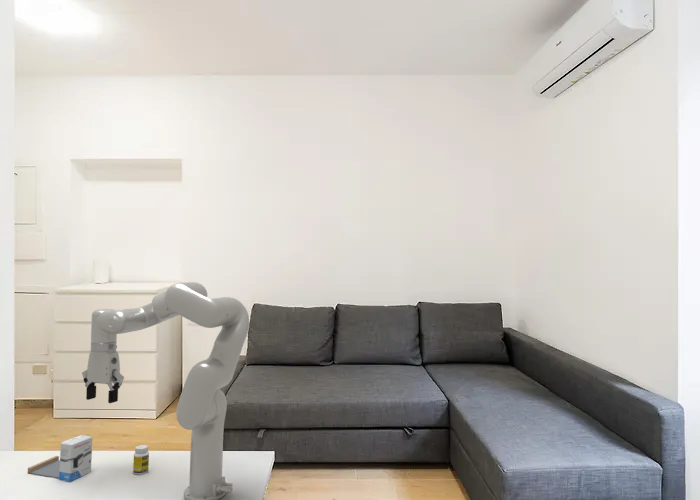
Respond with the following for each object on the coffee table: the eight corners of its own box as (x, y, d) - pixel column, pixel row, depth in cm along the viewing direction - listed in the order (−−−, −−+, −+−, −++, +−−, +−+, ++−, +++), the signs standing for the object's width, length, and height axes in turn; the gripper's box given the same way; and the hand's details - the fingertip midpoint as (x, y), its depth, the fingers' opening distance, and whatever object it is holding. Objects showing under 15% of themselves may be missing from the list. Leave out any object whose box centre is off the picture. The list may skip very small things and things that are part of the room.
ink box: (69, 482, 156) (71, 444, 157) (58, 479, 158) (59, 442, 158) (92, 472, 164) (93, 436, 165) (80, 469, 166) (82, 434, 166)
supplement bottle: (142, 475, 162) (143, 449, 162) (129, 474, 163) (130, 448, 163) (151, 470, 166) (152, 444, 167) (138, 468, 167) (139, 443, 168)
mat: (86, 465, 169) (86, 460, 169) (59, 478, 158) (59, 473, 158) (55, 461, 173) (56, 455, 173) (27, 473, 162) (27, 467, 162)
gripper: (132, 347, 161) (131, 400, 160) (94, 343, 167) (92, 394, 167) (113, 351, 154) (112, 406, 153) (74, 347, 160) (72, 400, 160)
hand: (101, 400), depth 160 cm, fingers open, 9 cm apart
